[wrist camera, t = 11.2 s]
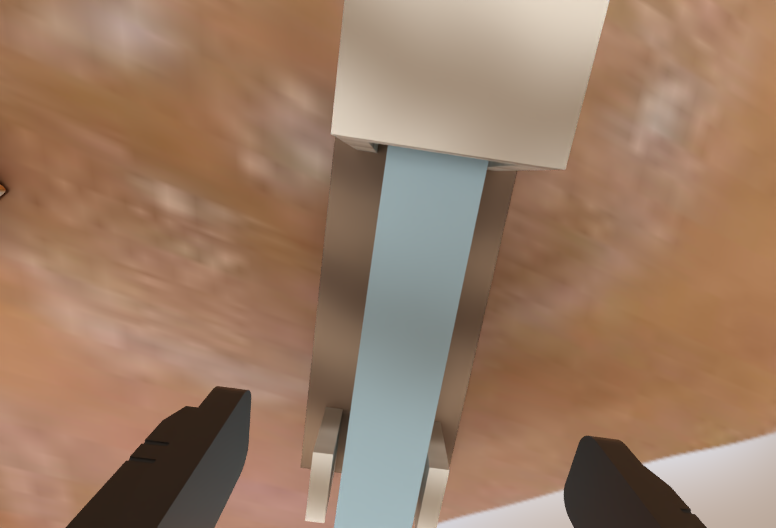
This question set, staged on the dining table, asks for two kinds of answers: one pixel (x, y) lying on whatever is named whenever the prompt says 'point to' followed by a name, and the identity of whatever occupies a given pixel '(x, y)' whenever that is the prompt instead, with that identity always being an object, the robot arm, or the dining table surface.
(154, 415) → the dining table surface
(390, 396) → the slat
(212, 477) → the robot arm
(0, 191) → the small box
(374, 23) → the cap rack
